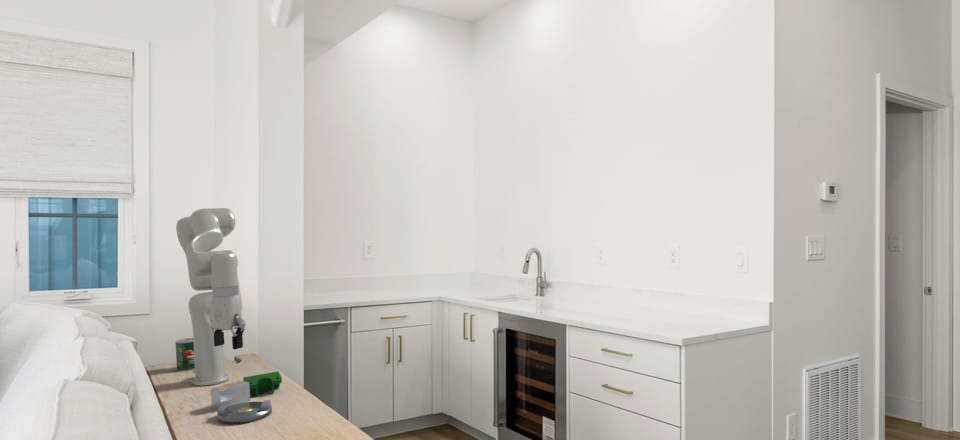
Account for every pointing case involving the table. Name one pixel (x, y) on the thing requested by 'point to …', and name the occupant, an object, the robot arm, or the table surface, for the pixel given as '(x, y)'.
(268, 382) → the clamp
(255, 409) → the shallow grey dish
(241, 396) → the striped grey block
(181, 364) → the canned tomato
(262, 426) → the table surface
